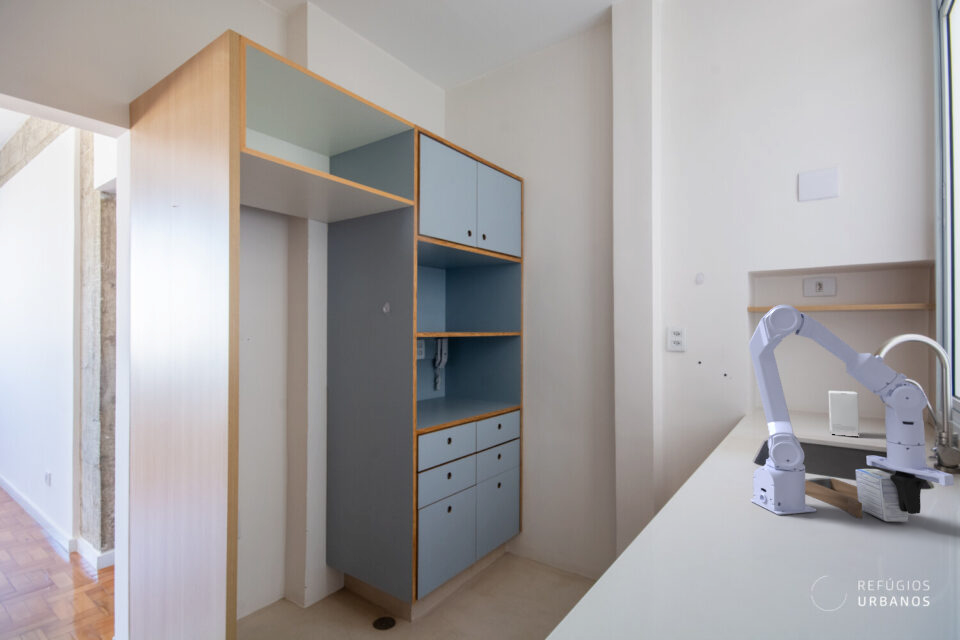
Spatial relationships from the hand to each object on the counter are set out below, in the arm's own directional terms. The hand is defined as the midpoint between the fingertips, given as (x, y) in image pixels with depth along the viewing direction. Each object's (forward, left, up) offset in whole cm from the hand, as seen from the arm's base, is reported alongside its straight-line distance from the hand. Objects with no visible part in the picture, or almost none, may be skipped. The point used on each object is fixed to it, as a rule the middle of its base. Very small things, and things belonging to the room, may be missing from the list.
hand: (909, 511), depth 92 cm
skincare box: (+60, +66, -3) cm, 89 cm away
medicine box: (0, +5, -3) cm, 6 cm away
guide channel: (0, +13, -3) cm, 13 cm away
